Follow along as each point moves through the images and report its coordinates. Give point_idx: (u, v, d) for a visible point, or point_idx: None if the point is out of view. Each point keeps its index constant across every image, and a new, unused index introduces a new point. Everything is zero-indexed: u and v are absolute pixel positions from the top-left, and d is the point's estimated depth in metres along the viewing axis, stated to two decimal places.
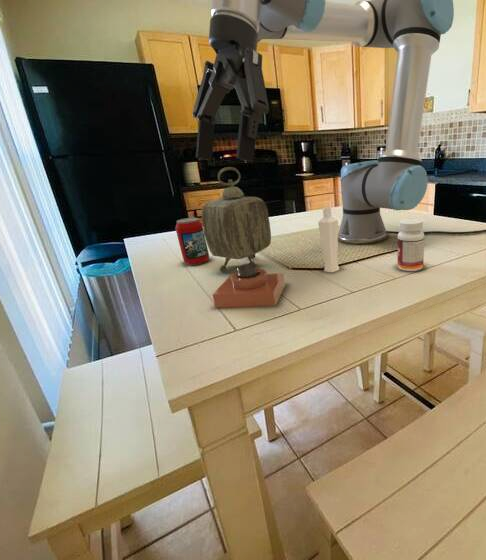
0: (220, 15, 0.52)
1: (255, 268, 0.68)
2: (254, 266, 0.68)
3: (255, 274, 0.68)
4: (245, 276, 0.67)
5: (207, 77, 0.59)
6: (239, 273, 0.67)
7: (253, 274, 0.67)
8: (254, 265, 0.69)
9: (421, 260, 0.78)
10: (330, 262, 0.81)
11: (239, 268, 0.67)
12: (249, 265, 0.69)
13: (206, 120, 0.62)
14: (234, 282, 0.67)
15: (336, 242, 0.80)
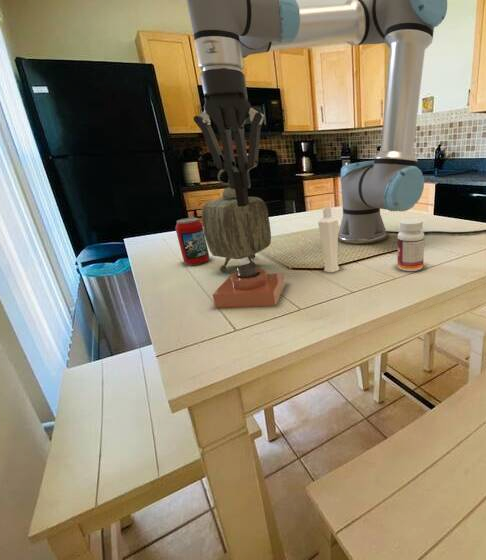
0: (223, 70, 0.57)
1: (255, 268, 0.68)
2: (254, 266, 0.68)
3: (255, 274, 0.68)
4: (245, 276, 0.67)
5: (207, 127, 0.62)
6: (239, 273, 0.67)
7: (253, 274, 0.67)
8: (254, 265, 0.69)
9: (421, 260, 0.78)
10: (330, 262, 0.81)
11: (239, 268, 0.67)
12: (249, 265, 0.69)
13: (234, 167, 0.66)
14: (234, 282, 0.67)
15: (336, 242, 0.80)
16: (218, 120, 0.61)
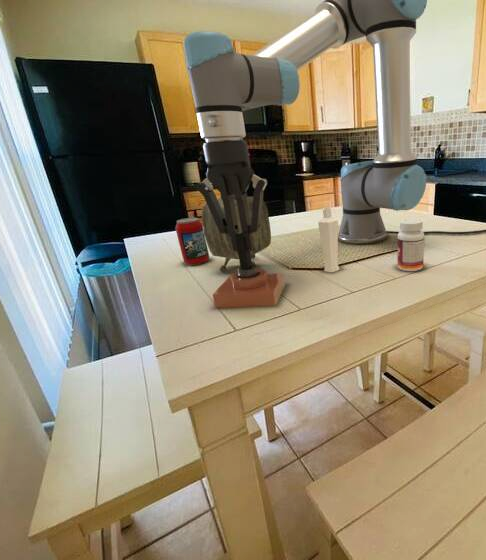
0: (226, 142, 0.56)
1: (255, 268, 0.68)
2: (254, 266, 0.68)
3: (255, 274, 0.68)
4: (245, 276, 0.67)
5: (209, 194, 0.62)
6: (239, 273, 0.67)
7: (253, 274, 0.67)
8: (254, 265, 0.69)
9: (421, 260, 0.78)
10: (330, 262, 0.81)
11: (239, 268, 0.67)
12: None
13: (237, 230, 0.65)
14: (234, 282, 0.67)
15: (336, 242, 0.80)
16: (221, 188, 0.61)
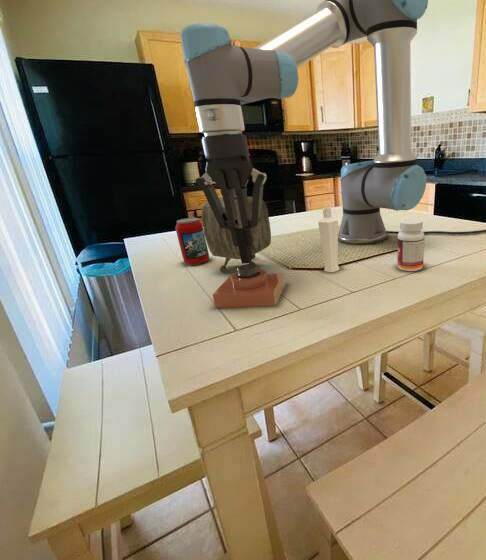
0: (225, 136, 0.56)
1: (255, 268, 0.68)
2: (254, 266, 0.68)
3: (255, 274, 0.68)
4: (245, 276, 0.67)
5: (209, 188, 0.62)
6: (239, 273, 0.67)
7: (253, 274, 0.67)
8: (254, 265, 0.69)
9: (421, 260, 0.78)
10: (330, 262, 0.81)
11: (239, 268, 0.67)
12: (249, 265, 0.69)
13: (237, 225, 0.65)
14: (234, 282, 0.67)
15: (336, 242, 0.80)
16: (220, 182, 0.60)
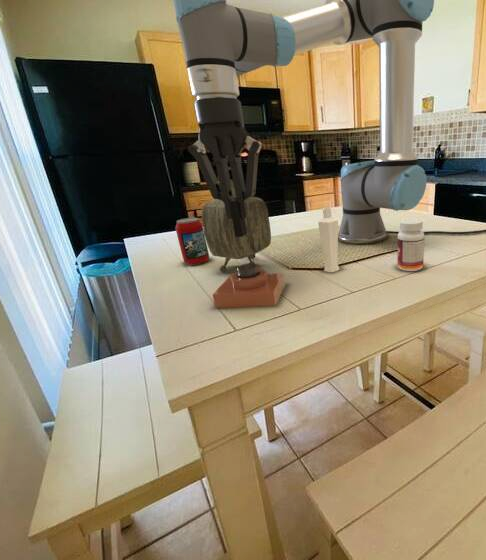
0: (218, 99, 0.54)
1: (255, 268, 0.68)
2: (254, 266, 0.68)
3: (255, 274, 0.68)
4: (245, 276, 0.67)
5: (202, 156, 0.59)
6: (239, 273, 0.67)
7: (253, 274, 0.67)
8: (254, 265, 0.69)
9: (421, 260, 0.78)
10: (330, 262, 0.81)
11: (239, 268, 0.67)
12: (249, 265, 0.69)
13: (231, 196, 0.63)
14: (234, 282, 0.67)
15: (336, 242, 0.80)
16: (213, 149, 0.58)
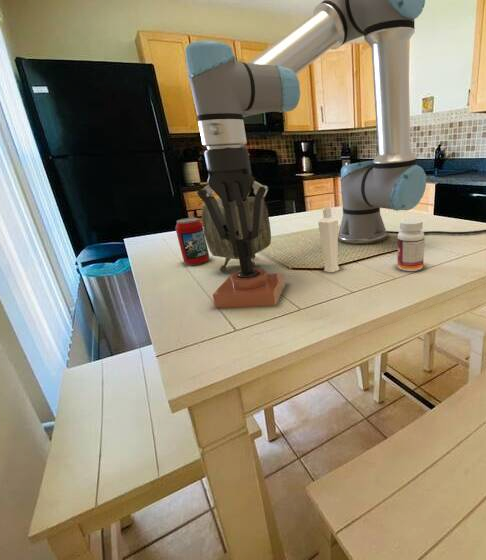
0: (227, 150, 0.57)
1: (256, 274, 0.68)
2: (255, 272, 0.69)
3: None
4: None
5: (211, 200, 0.62)
6: None
7: None
8: (255, 271, 0.69)
9: (421, 260, 0.78)
10: (330, 262, 0.81)
11: (240, 274, 0.68)
12: None
13: (238, 236, 0.66)
14: (234, 282, 0.67)
15: (336, 242, 0.80)
16: (222, 194, 0.61)
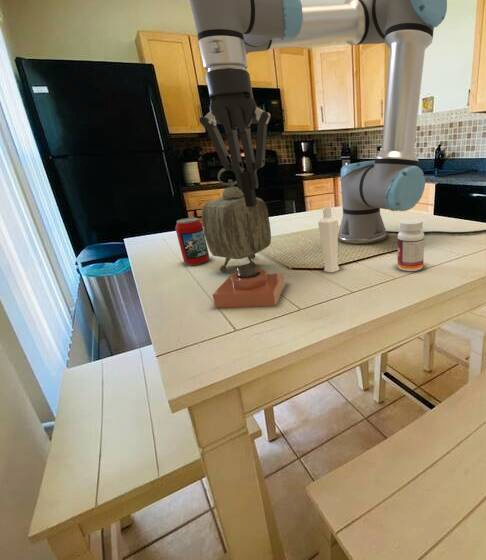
0: (229, 70, 0.56)
1: (255, 268, 0.68)
2: (254, 266, 0.68)
3: (255, 274, 0.68)
4: (245, 276, 0.67)
5: (213, 128, 0.62)
6: (239, 273, 0.67)
7: (253, 274, 0.67)
8: (254, 265, 0.69)
9: (421, 260, 0.78)
10: (330, 262, 0.81)
11: (239, 268, 0.67)
12: (249, 265, 0.69)
13: (241, 167, 0.65)
14: (234, 282, 0.67)
15: (336, 242, 0.80)
16: (224, 120, 0.61)
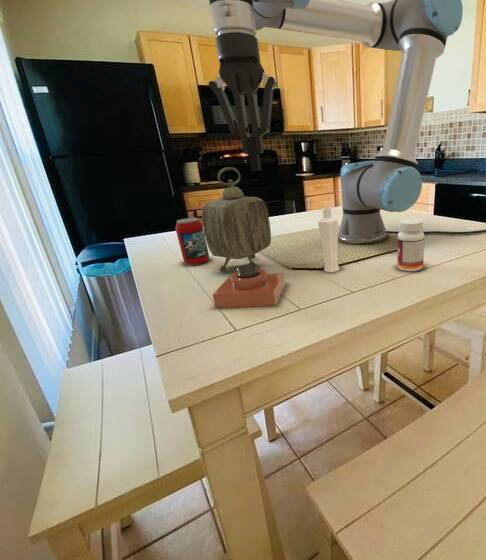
0: (238, 33, 0.59)
1: (255, 268, 0.68)
2: (254, 266, 0.68)
3: (255, 274, 0.68)
4: (245, 276, 0.67)
5: (221, 92, 0.64)
6: (239, 273, 0.67)
7: (253, 274, 0.67)
8: (254, 265, 0.69)
9: (421, 260, 0.78)
10: (330, 262, 0.81)
11: (239, 268, 0.67)
12: (249, 265, 0.69)
13: (247, 132, 0.68)
14: (234, 282, 0.67)
15: (336, 242, 0.80)
16: (232, 84, 0.63)
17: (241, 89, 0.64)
